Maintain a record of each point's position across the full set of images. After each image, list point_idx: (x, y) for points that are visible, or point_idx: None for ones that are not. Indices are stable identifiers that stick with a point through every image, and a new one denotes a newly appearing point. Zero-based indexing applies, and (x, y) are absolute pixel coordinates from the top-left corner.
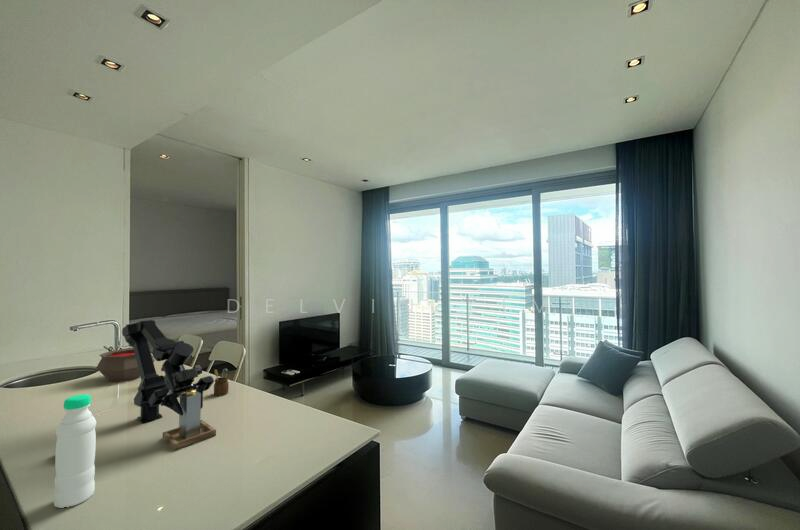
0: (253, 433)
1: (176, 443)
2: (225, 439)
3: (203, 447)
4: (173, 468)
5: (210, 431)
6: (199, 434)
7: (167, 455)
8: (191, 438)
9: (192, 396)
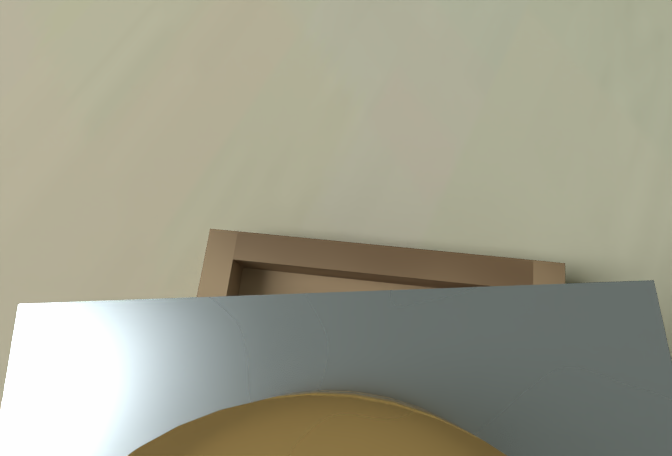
0: (73, 44)
1: (551, 270)
2: (227, 124)
3: (382, 143)
4: (630, 42)
5: (256, 237)
6: (343, 267)
7: (609, 250)
8: (424, 251)
9: (396, 293)
